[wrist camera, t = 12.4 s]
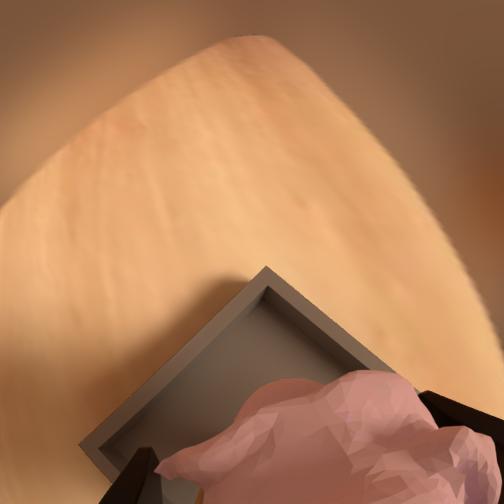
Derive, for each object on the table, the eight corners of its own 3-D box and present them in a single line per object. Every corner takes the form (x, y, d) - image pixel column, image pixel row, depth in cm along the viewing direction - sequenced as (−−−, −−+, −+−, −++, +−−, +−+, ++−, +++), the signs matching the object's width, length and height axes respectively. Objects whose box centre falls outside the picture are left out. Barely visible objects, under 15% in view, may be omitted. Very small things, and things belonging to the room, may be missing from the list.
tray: (279, 583, 10) (286, 602, 7) (97, 441, 13) (78, 444, 11) (426, 418, 15) (449, 416, 13) (261, 283, 19) (266, 265, 17)
